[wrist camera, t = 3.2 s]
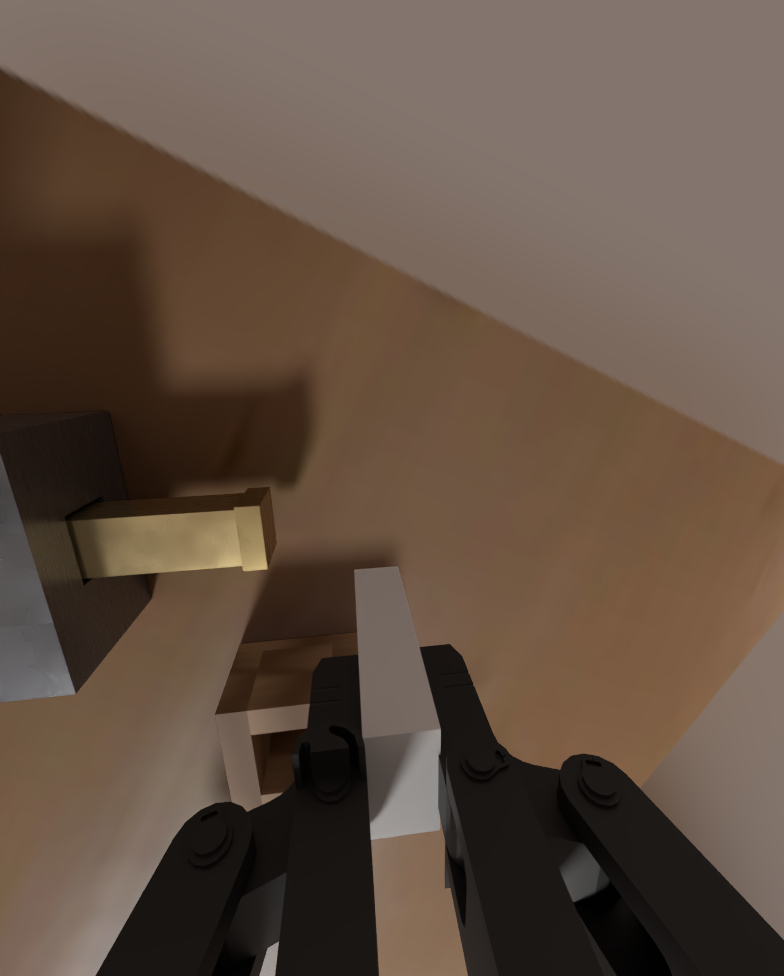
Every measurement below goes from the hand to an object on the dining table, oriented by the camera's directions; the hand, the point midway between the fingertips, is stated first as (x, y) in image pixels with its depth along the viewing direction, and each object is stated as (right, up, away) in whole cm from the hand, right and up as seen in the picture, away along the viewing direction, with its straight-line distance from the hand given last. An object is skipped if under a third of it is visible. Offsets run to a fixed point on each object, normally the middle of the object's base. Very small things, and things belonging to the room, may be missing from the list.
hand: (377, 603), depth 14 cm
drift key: (-11, +2, +9) cm, 14 cm away
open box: (-6, -10, +15) cm, 20 cm away
